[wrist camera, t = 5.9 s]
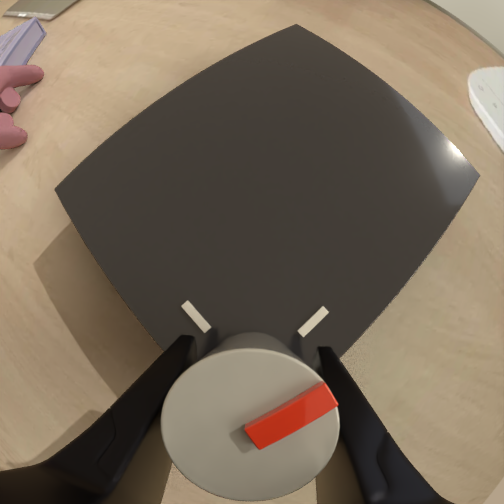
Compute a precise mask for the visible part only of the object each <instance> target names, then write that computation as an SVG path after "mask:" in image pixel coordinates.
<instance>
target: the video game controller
mask: <svg viewBox="0 0 504 504" xmlns="http://www.w3.org/2000/svg"><path fill="white" fill-rule="evenodd" d="M43 76H44V71H43V70H42V69H41V68H40V67H38V66H36V65H18V66H8V65H4V66H0V109H1V110H2V111H3V112H6V113H0V149H10V148H14V147H18V146H20V145H22V144H23V143H25V142H26V141H27V133H26V132H25V131H24V130H23V129H22V128H19V127H16V126H13V124H14V122H13V118H12V117H11V116H10V115H9V114H7V113H12V112H14V111H15V110H16V108H17V107H18V105H19V103H20V99H21V98H20V95H19V94H18V93H17V92H16V91H15V90H14V88H16V87H19V86H26V85H30V84H33V83H36V82H38V81H40V80H41V79H42V78H43Z"/></svg>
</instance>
